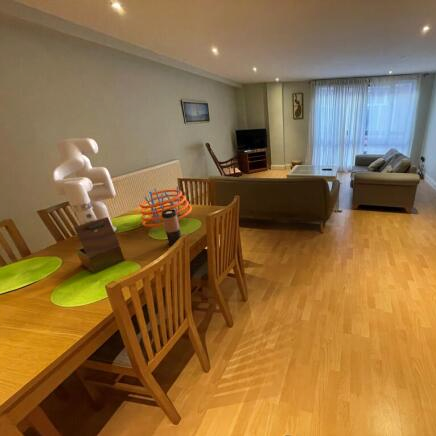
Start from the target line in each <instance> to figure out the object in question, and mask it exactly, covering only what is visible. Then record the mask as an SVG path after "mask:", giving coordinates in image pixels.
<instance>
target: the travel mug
mask: <svg viewBox="0 0 436 436" xmlns="http://www.w3.org/2000/svg"><path fill="white" fill-rule="evenodd" d="M177 214H178V213H177ZM177 214H176V209H174V210H173V209H170V210H165V211H163V212H161V216H162V218H163V219H162V223H164V225H163V226H164V230H165V234H166V237H167V241H168V244H169V245H170V246H174V245H173V244H174V243H175V242H176V241H177V240H178V239H179V238H180V237H181V238H182V234H181V233H182V232H181V228H180V224H179V221H178V219H177V217H178V215H177Z"/></svg>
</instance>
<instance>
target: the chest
mask: <svg viewBox="0 0 436 436" xmlns="http://www.w3.org/2000/svg"><path fill="white" fill-rule="evenodd" d="M75 251H76V253H77V255H78V258H79V260H80V262H81V265H82V266H83V267H85V268H86V269H87V270H89V271H91V272H92V273H93V274H97V273H99V272H101V271H104V270H106V269H108V268H111V267H113V266H115V265H117V264H120V263H122V262H124V261H125V257H124V254H123V252H122V251H123V250H122V249H121V245H119V246H116V247H114V248H111V249H109V250H106V251H104V252H101V253H98V254H96V255H93V256H91V257H88V256H87V254H86V252H85V250H84V248H83V247H82V248H79V249H76V250H75Z"/></svg>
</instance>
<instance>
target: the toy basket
mask: <svg viewBox="0 0 436 436" xmlns="http://www.w3.org/2000/svg"><path fill="white" fill-rule="evenodd" d="M148 193H149V195H150V199H148V197H147V196H144V199H145V200H144V201H143V202H141V203H140V204H139V207H140V208H142V209H140V213H141V220H142V222H141V225H142V226H143V227H146V228H155V227H162V226H164V222H161V223H160V220H163V218H162V215H161V216H159V214H162V212H163V211H165V210H175V211H176V214H178V216H177V219H178V222H179V221H180V220H182V219H183V218H185V217H187V216H188V215H189V214H190V213H191V212H192V209H193V206H191V204H189V201H188V200H186V196H185V195H183V192H182V190H179V186H178V185H176V189H162V190H158V191H157V189H156V188H154V192H153V191H151V190H150V191H148ZM167 193H172V194H167ZM174 193H175V194H174ZM158 194H160V195H158ZM163 194H164V195H163ZM154 195H155V196H156V197H154ZM172 197H173V198H172ZM165 198H166V200H164V199H165ZM156 200H157V202H155V201H156ZM150 202H151V203H150ZM173 202H177V203H173ZM146 204H148V205H146ZM181 206H183V207H181ZM180 207H181V208H180ZM187 208H189V209H187ZM148 209H150V210H148ZM186 209H187V211H186V212H184V213H183V214H182V215H181V212H182V211H184V210H186ZM147 210H148V211H147ZM147 215H149V216H147ZM146 216H147V217H146ZM156 221H157V222H158V223H156ZM146 222H153V223H154V224H146Z"/></svg>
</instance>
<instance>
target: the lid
mask: <svg viewBox="0 0 436 436" xmlns="http://www.w3.org/2000/svg"><path fill="white" fill-rule="evenodd" d="M73 229H74V231H75V233H76V235H77V237H78V239H79V241H80V243H81V246H82V248H84V250H85V252H86V254H87V256H88V257H91V256H93V255H96V254H98V253H101V252H104V251H106V250H109V249H111V248H114V247H116V246H121V245H120V243H119V240H118V237H117V235H116V233H115V232H114V230H113V228H112V226H111V223H110V221H109V219H108V217H106V218H103V219H99V220H96V221H92V222H89V223H86V224H82V225H80V224H79V225H75V226H73ZM96 229H97V231H96V232H94V230H96Z"/></svg>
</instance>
